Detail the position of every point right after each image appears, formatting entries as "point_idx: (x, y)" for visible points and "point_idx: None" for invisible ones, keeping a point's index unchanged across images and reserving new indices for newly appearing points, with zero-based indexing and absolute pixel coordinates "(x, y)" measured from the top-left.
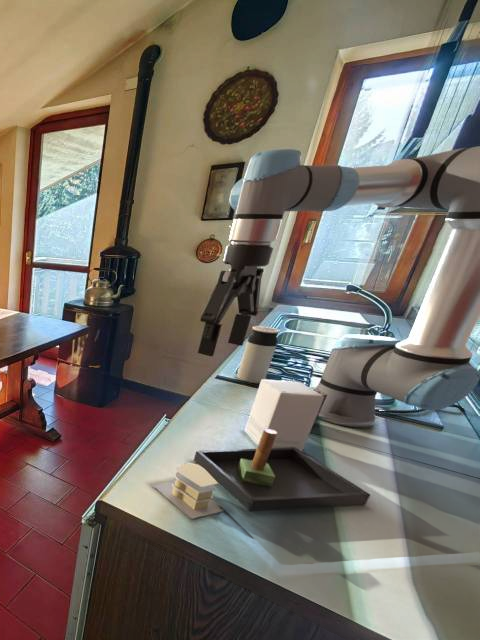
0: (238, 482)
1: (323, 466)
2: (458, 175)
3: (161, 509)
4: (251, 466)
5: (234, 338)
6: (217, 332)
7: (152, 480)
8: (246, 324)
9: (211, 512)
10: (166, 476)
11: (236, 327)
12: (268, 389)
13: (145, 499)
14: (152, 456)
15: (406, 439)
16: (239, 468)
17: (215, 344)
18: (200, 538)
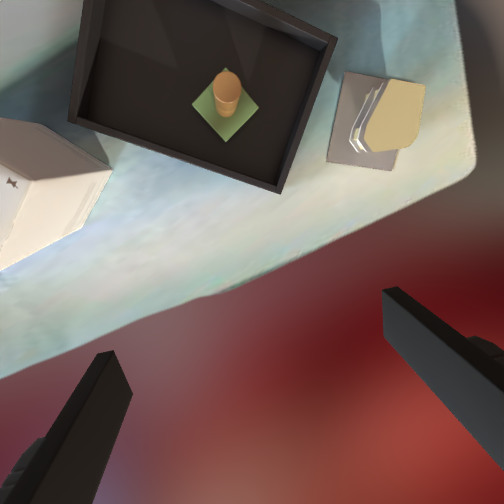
0: (267, 110)
1: (84, 40)
2: None
3: (429, 122)
4: (234, 112)
5: (115, 399)
6: (489, 359)
7: (378, 181)
8: (58, 457)
9: (376, 80)
10: (350, 180)
11: (94, 460)
12: (19, 231)
13: (428, 150)
14: (320, 231)
15: None
16: (233, 134)
17: (423, 316)
18: (442, 47)
